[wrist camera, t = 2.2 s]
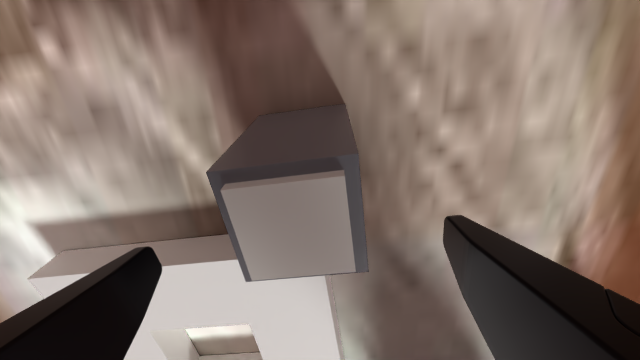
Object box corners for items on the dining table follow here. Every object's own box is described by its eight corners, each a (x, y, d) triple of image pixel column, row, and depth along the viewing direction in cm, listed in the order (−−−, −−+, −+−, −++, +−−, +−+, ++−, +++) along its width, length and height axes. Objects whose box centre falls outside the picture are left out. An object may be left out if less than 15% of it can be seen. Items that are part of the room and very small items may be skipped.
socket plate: (321, 224, 17) (320, 259, 15) (348, 384, 25) (351, 426, 23) (62, 250, 19) (17, 286, 16) (165, 393, 27) (146, 433, 24)
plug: (345, 103, 14) (359, 158, 7) (353, 181, 16) (370, 280, 9) (259, 115, 14) (200, 177, 8) (277, 190, 16) (242, 290, 10)
